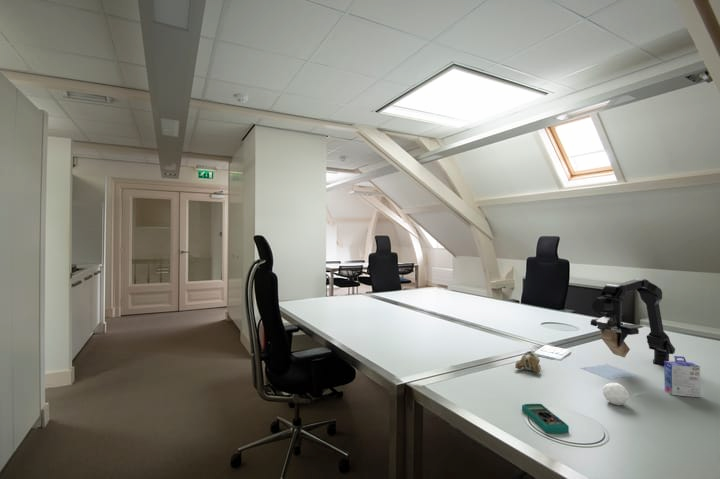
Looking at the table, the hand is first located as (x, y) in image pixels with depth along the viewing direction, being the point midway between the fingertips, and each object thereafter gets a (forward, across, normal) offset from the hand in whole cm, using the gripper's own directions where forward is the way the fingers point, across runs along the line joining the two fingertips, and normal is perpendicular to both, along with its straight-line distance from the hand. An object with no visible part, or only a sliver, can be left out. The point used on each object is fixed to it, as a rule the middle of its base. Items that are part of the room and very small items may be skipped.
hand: (613, 344), depth 163 cm
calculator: (+13, -28, -6) cm, 32 cm away
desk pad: (+12, 0, -3) cm, 13 cm away
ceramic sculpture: (+13, -14, -36) cm, 40 cm away
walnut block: (+4, 0, +6) cm, 7 cm away
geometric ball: (+13, +23, -32) cm, 41 cm away
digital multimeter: (+13, +25, -68) cm, 73 cm away
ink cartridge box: (+13, +25, +3) cm, 29 cm away
